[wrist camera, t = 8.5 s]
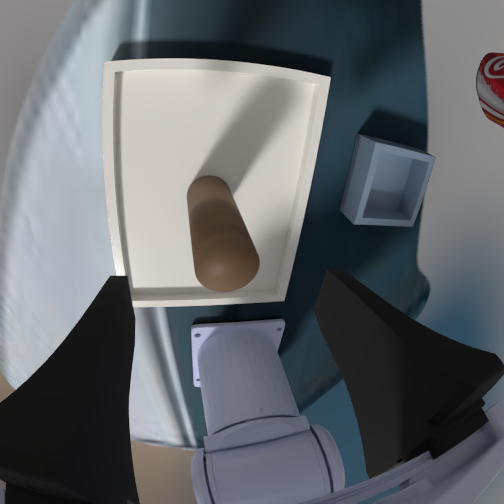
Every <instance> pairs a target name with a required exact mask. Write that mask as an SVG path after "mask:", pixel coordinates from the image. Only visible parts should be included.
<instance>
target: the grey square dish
mask: <svg viewBox="0 0 504 504" xmlns="http://www.w3.org/2000/svg"><path fill="white" fill-rule="evenodd" d="M434 161H435V157H434V156H432V155H430V154H428V153H426V152H424V151H422V150H420V149H418V148H416V147H412V146H408V145H405V144H401V143H397V142H393V141H389V140H385V139H380V138H376V137H371V136H367V135H362V134H357V137H356V142H355V146H354V151H353V155H352V159H351V164H350V168H349V172H348V176H347V181H346V185H345V189H344V193H343V196H342V200H341V204H340V208H339V210H340V211H341V212H342V213H343V214H344V215H345V216H346V217H347V218H348V219H349V220H350V221H351V222H352V223H353V224H356V225H385V226H408V227H413V225H414V222H415V220H416V217H417V214H418V211H419V208H420V206H421V203H422V200H423V197H424V194H425V191H426V187H427V184H428V181H429V177H430V174H431V171H432V168H433V164H434Z"/></svg>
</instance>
